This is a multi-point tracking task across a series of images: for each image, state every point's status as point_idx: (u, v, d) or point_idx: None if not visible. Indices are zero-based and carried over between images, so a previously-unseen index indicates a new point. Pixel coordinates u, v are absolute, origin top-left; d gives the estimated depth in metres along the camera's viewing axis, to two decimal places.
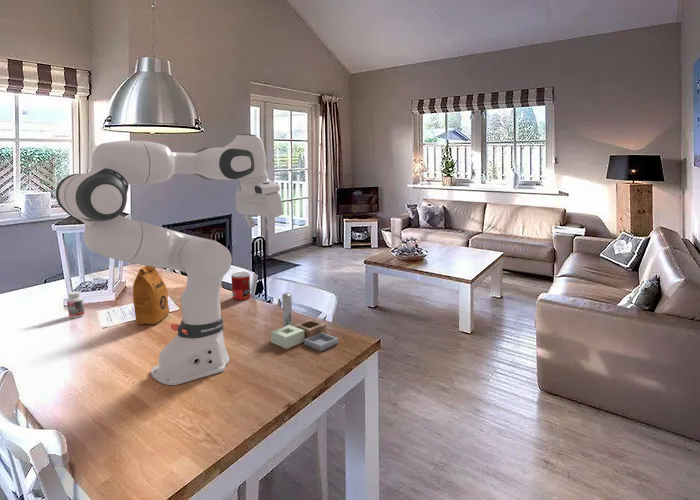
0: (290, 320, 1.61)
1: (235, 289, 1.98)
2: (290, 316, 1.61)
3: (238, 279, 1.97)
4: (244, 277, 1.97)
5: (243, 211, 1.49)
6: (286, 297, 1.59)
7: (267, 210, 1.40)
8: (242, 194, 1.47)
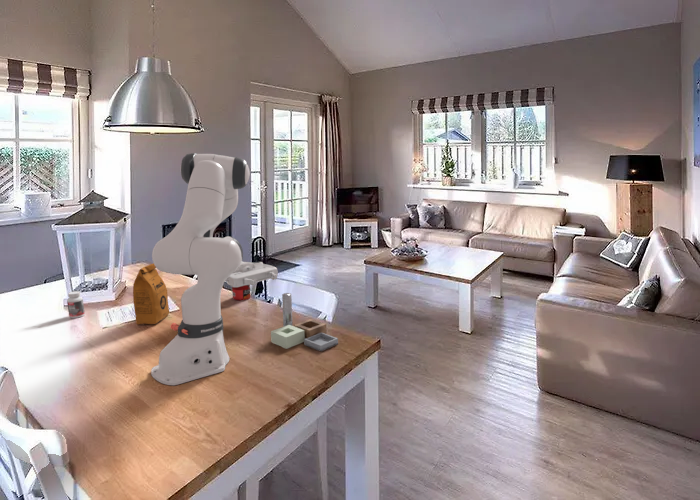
0: (290, 320, 1.61)
1: (235, 289, 1.98)
2: (290, 316, 1.61)
3: None
4: None
5: (243, 275, 1.67)
6: (286, 297, 1.59)
7: (269, 268, 1.77)
8: (236, 272, 1.71)
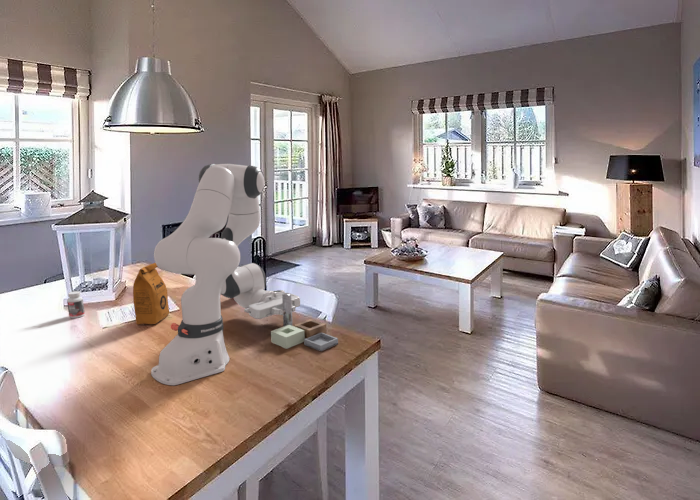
0: (290, 320, 1.61)
1: None
2: (290, 316, 1.61)
3: None
4: None
5: (266, 306, 1.60)
6: (286, 297, 1.59)
7: (292, 297, 1.71)
8: (258, 302, 1.65)
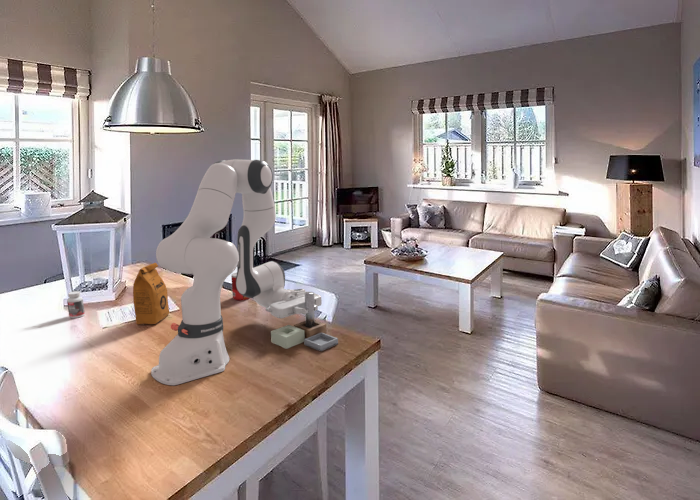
0: (312, 319, 1.58)
1: (235, 289, 1.98)
2: (313, 315, 1.57)
3: None
4: None
5: (288, 305, 1.57)
6: (309, 296, 1.55)
7: None
8: (279, 301, 1.61)
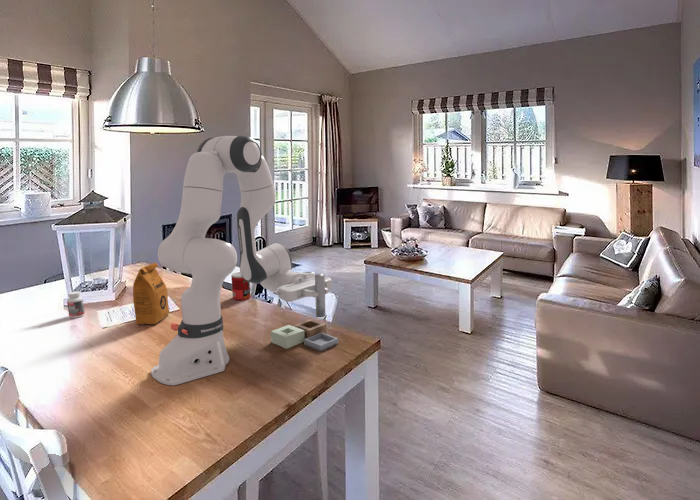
0: (323, 303, 1.48)
1: (235, 289, 1.98)
2: (323, 298, 1.48)
3: (238, 279, 1.97)
4: None
5: (297, 288, 1.47)
6: (319, 278, 1.46)
7: None
8: (287, 284, 1.51)
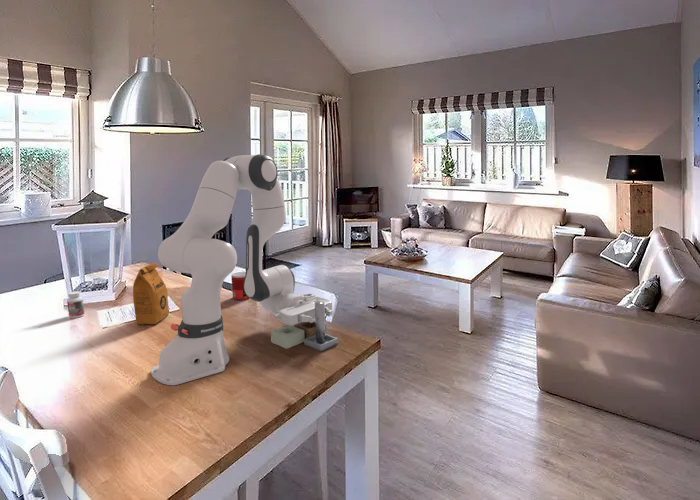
0: (323, 330, 1.50)
1: (235, 289, 1.98)
2: (323, 326, 1.50)
3: (239, 279, 1.97)
4: (244, 277, 1.97)
5: (298, 312, 1.49)
6: (319, 306, 1.48)
7: (323, 301, 1.59)
8: (288, 307, 1.53)
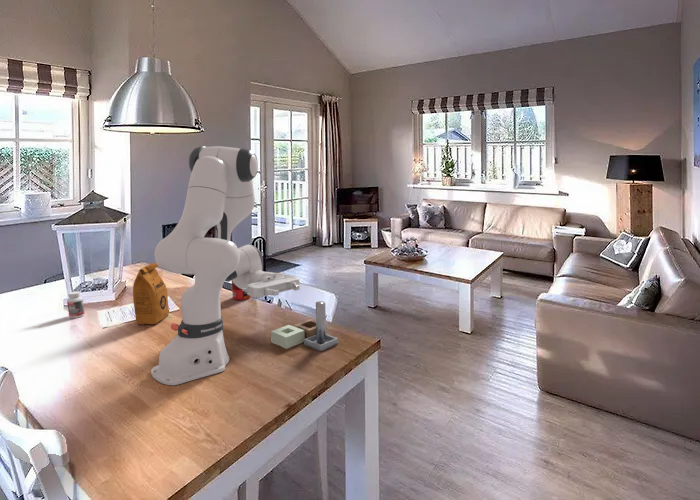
0: (324, 330, 1.50)
1: (235, 289, 1.98)
2: (324, 326, 1.50)
3: None
4: None
5: (264, 285, 1.58)
6: (320, 306, 1.48)
7: (291, 278, 1.68)
8: (256, 282, 1.62)
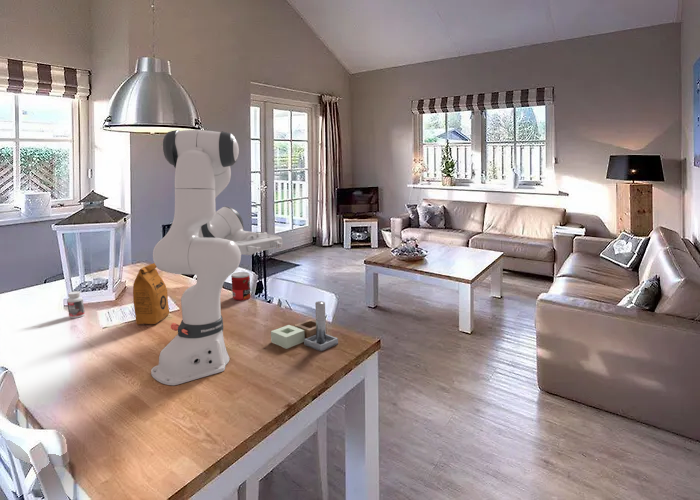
0: (324, 330, 1.50)
1: (235, 289, 1.98)
2: (324, 326, 1.50)
3: (239, 279, 1.97)
4: (244, 277, 1.97)
5: (247, 243, 1.60)
6: (320, 306, 1.48)
7: (274, 237, 1.71)
8: (239, 241, 1.65)
